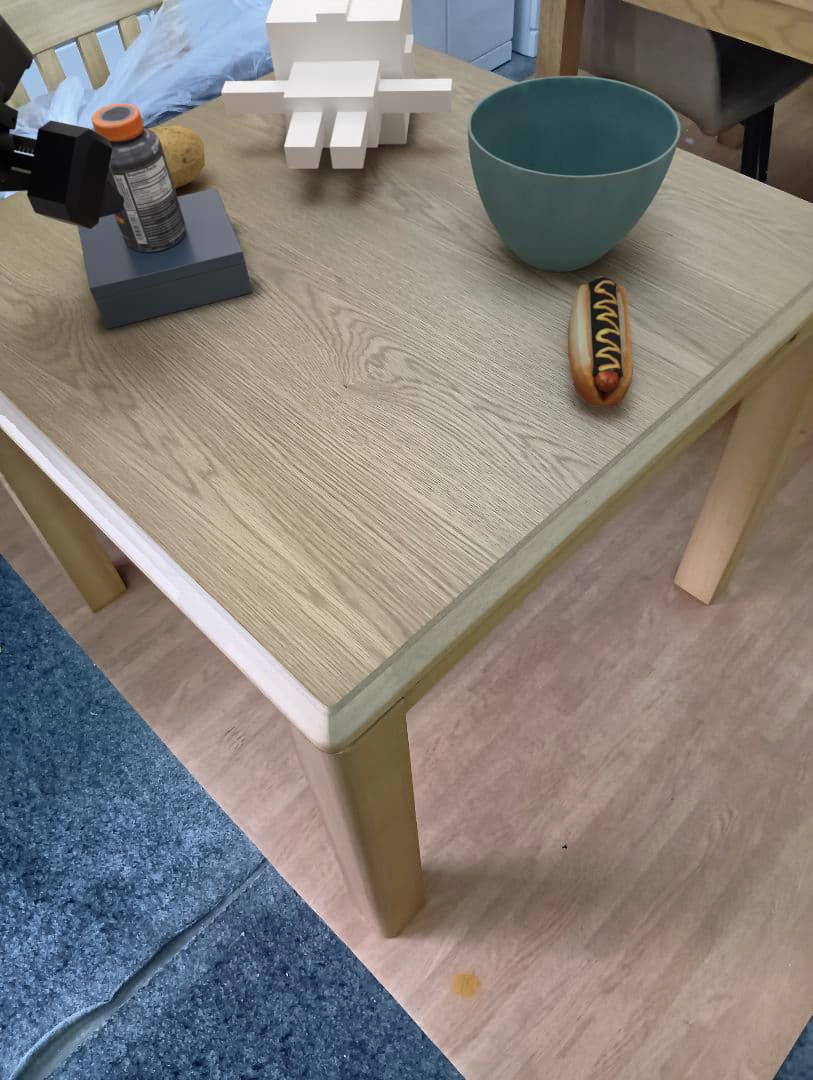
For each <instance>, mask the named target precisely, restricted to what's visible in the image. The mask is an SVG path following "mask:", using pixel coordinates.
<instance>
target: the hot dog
mask: <svg viewBox="0 0 813 1080" xmlns="http://www.w3.org/2000/svg"><path fill="white" fill-rule="evenodd" d="M571 301H572V302H571V308H570V315H569V320H568V326H567V357H568V363H569V367H570V372H571V377H572V382H573V386H574V390H575V392H576V393H577V394H578V395H579V396H580V397H581V398H582V400H583V401H584V402H585V404H586V405H589V406H592V407H597V408H610V407H616V406H618V405H619V404H620V403H621V402H622V401H623V400H624V398H625V397H626V395H627V393H628V391H629V388H630V387H631V384H632V380H633V371H634V370H633V347H632V346H633V345H632V336H631V326H630V325H631V324H630V316H629V306H628V296H627V292H626V288H625V286H623V285H620V284H618V283H616V282H615V281H614V280H613V279H612V278H609V277H607V276H605V275H601V276H598V277H596V278H594V279H593V280H591V281H589V282H587V283H585V284H581V285H580V286H579V287H578V289H577V290H576V292H575V294H574V296H573V297H572V300H571Z"/></svg>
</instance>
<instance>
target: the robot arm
mask: <svg viewBox="0 0 813 1080" xmlns="http://www.w3.org/2000/svg"><path fill="white" fill-rule="evenodd" d="M33 61H34V54H33V52H32V51H31V49H29V48H28V46H27V45H26V44H25V42H24V41H23V40H22V39H21V38H20V36H19V35H18V34H17V33H16V32H15V30H14V29H13V28H12V27H11V25H10V24H9V23H8V22H7V21H6V20H5V18H4V17H3V16H2V14H0V193H4V192H5V193H7V192H26V196H27V199H28V201H29V204H30V205H31V207H32V210H33V212H34V213H35V214H37V215H40V216H43V217H45V218H49V219H51V220H55V221H58V222H62V223H65V224H69V225H72V226H77V227H78V226H80V227H84V228H87V229H92V228H93V227H94V226H95V225H97V224H98V223H99V218H100V217H104V216H108V215H112V214H116V213H119V212H122V210H123V205H124V197H123V196H122V195H121V194H120V193H119V192H118V191H117V190H116V188H115V187H114V186H113V185H112V184H111V183H110V182H109V180H108V179H107V176H108V170H109V165H110V160H111V155H112V149H113V148H112V146H111V144H110V142H109V140H108V139H107V138H105V137H104V136H102V135H100V134H98V133H96V132H95V130H93V129H91V128H89V127H84V126H80V125H76V124H75V125H74V124H70V123H65V122H62V121H61V122H60V121H55V120H49V121H48V122H46V123H45V124H43V125H42V126H40V127H39V128H38V129H37V133H36V138H32V137H27V136H24V135H20V134H19V135H18V134H14V133H11V130H13V131H15V130H16V128H17V123H18V118H19V117H18V116H19V110H17V109H15V108H13V107H12V106H10V105H7V104H6V103H8V102H9V100H11V99H12V97H13V95H14V93H15V91H16V89H17V87H18V85H19V84H20V81H21V79H22V78H23V76H24V74H25V72H26V70H29V69H30V68H31V66H32V64H33V63H34V62H33Z"/></svg>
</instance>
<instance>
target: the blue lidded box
mask: <svg viewBox="0 0 813 1080" xmlns="http://www.w3.org/2000/svg"><path fill="white" fill-rule="evenodd" d="M177 197H178V201H179V204H180V207H181V211H182V214H183V218H184V221H185V225H186V231H185V234H184V236H183V237H182V238H181V239H180V240H179V241H178V242H177V243H176V244H174V245H172V246H170V247H168V248H166V249H162V250H158V251H150V252H146V251H138V250H135V249H133V248H131V247H129V246H128V245H127V244H126V243H125V241H124V239H123V236H122V234H121V231H120V229H119V226H118V224H117V221H116V218H115V215H114V214H112V215H108V216H104V217H100V218H99V223H98V224H97V225H95V226H94V227H93V228H92V229H87V228H84V227H80V226H77V229H78V235H79V240H80V245H81V251H82V256H83V262H84V266H85V267H84V268H85V272H86V276H87V281H88V287H89V290H90V291H89V292H90V293H91V295H92V298H93V300H94V302H95V304H96V307H97V310H98V312H99V314H100V316H101V318H102V320H103V323H104V325H105V327H106V329H107V330H109V329H113V328H118V327H120V326H125V325H126V326H127V325H129V324H133V323H138V322H141V321H145V320H149V319H153V318H157V317H161V316H164V315H168V314H169V315H170V314H174V313H177V312H180V311H185V310H190V309H193V308H197V307H201V306H206V305H209V304H213V303H217V302H220V301H224V300H225V301H226V300H229V299H233V298H236V297H240V296H246V295H249V294H252V293H253V288H252V284H251V281H250V276H249V272H248V268H247V264H246V259H245V255H244V252H243V251H244V250H243V249H242V246H241V244H240V241H239V239H238V237H237V234H236V231H235V229H234V226H233V225H232V222H231V220H230V217H229V214H228V212H227V209H226V207H225V205H224V202H223V200H222V196H221V194H220V193H219V189H218V188H217V187H215V188H210V189H206V190H202V191H197V192H193V193H188V194H184V195H180V196H177Z"/></svg>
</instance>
